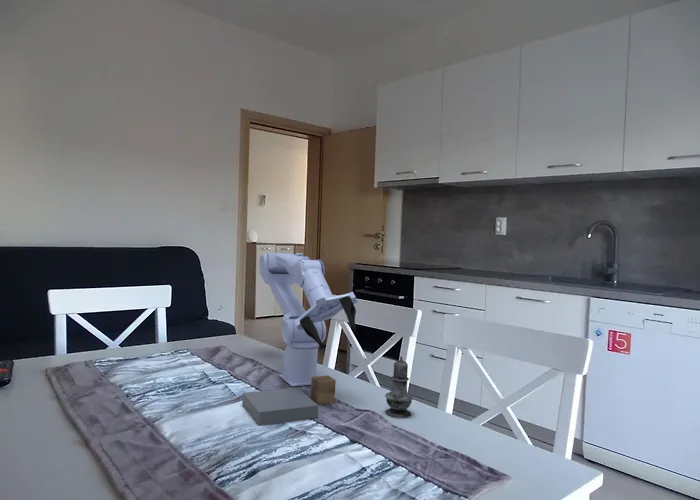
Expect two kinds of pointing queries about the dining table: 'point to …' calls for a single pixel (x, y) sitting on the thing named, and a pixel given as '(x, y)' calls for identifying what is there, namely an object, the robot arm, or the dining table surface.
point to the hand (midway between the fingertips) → (337, 337)
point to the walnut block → (323, 390)
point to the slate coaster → (279, 406)
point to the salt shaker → (399, 392)
